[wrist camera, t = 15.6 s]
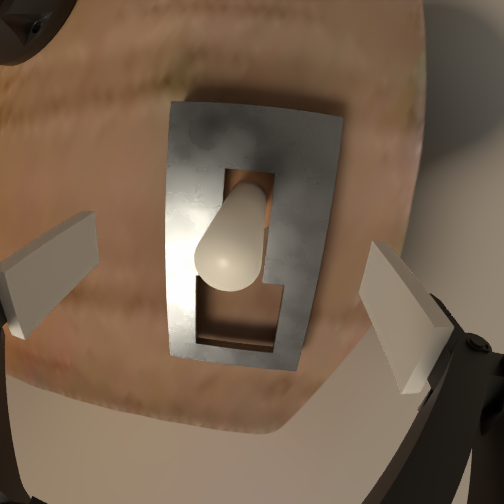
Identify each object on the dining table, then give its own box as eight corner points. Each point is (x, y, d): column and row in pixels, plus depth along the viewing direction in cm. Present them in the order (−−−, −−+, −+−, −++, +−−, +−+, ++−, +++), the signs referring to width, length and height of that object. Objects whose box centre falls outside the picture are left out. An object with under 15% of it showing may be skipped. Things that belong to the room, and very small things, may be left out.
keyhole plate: (181, 103, 24) (171, 101, 21) (336, 118, 24) (343, 117, 21) (177, 338, 33) (170, 355, 30) (294, 352, 33) (296, 371, 30)
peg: (217, 157, 26) (162, 188, 13) (288, 164, 26) (306, 203, 13) (212, 224, 28) (164, 308, 15) (279, 231, 28) (285, 324, 15)
